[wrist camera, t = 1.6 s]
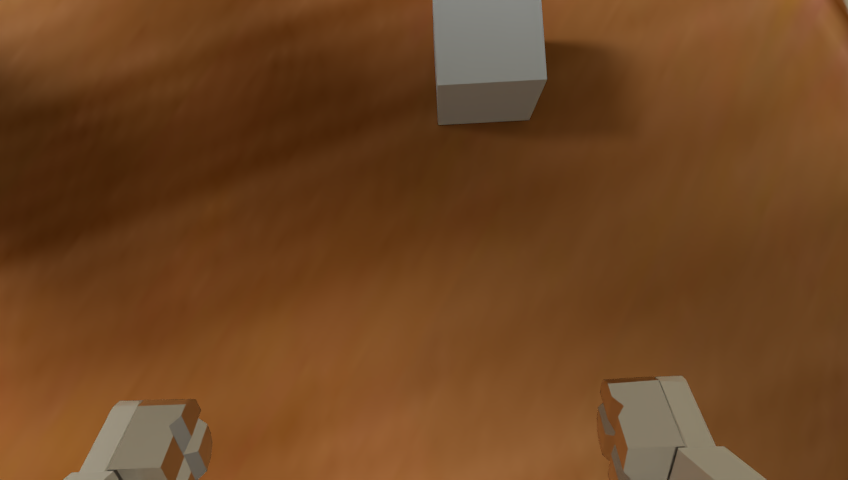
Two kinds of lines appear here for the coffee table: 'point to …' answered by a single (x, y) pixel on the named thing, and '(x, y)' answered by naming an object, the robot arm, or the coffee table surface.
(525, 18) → the slate cover
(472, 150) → the coffee table surface
